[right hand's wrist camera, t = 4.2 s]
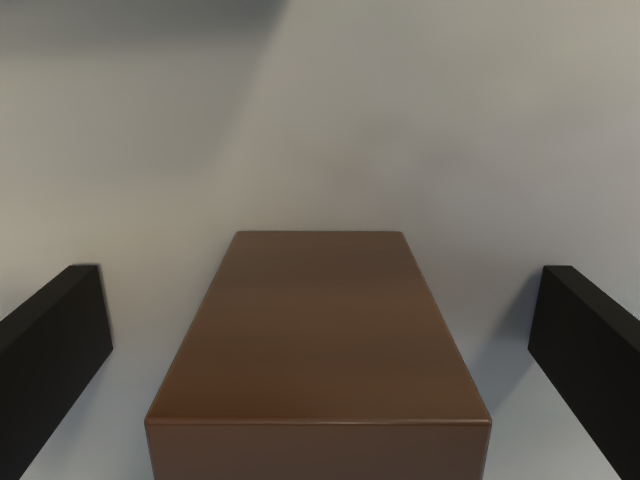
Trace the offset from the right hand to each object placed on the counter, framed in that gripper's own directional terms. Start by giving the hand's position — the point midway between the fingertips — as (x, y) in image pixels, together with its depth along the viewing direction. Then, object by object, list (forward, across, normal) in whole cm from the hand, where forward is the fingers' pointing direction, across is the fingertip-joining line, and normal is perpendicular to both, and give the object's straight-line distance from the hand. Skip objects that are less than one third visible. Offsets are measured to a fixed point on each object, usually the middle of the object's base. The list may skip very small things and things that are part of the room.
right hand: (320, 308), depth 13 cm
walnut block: (0, 0, 0) cm, 0 cm away
